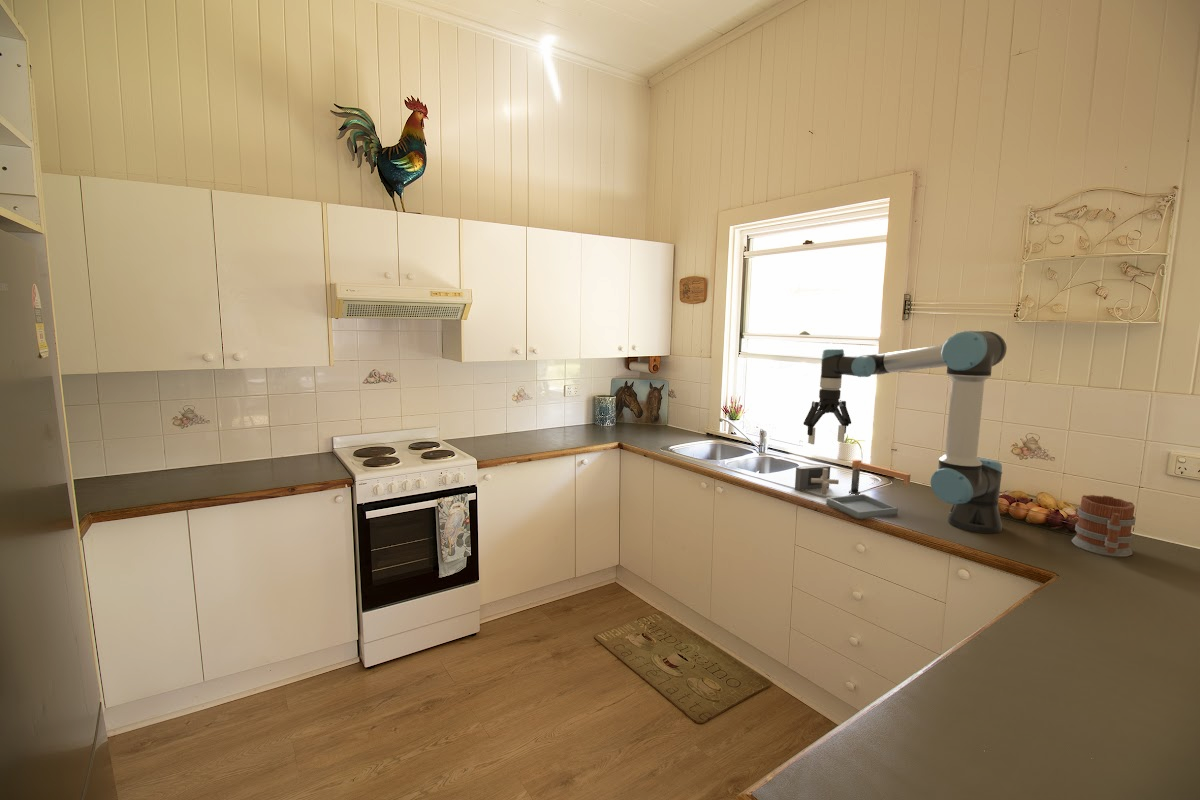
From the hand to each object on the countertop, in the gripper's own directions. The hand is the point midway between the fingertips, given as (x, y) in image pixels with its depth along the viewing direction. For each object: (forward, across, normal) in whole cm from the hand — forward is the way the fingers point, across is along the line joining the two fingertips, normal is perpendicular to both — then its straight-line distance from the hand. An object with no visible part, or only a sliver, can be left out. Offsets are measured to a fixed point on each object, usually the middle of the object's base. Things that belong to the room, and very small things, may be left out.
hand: (826, 442), depth 222 cm
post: (+20, -12, +4) cm, 24 cm away
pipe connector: (+20, 0, +1) cm, 21 cm away
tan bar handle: (+11, -14, +14) cm, 22 cm away
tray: (+20, -1, +20) cm, 29 cm away
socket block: (+20, 0, -6) cm, 21 cm away
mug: (+20, -44, +71) cm, 86 cm away
